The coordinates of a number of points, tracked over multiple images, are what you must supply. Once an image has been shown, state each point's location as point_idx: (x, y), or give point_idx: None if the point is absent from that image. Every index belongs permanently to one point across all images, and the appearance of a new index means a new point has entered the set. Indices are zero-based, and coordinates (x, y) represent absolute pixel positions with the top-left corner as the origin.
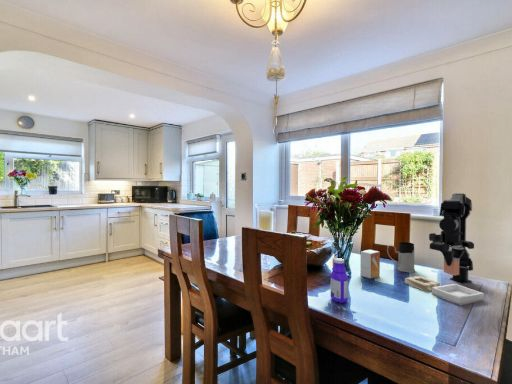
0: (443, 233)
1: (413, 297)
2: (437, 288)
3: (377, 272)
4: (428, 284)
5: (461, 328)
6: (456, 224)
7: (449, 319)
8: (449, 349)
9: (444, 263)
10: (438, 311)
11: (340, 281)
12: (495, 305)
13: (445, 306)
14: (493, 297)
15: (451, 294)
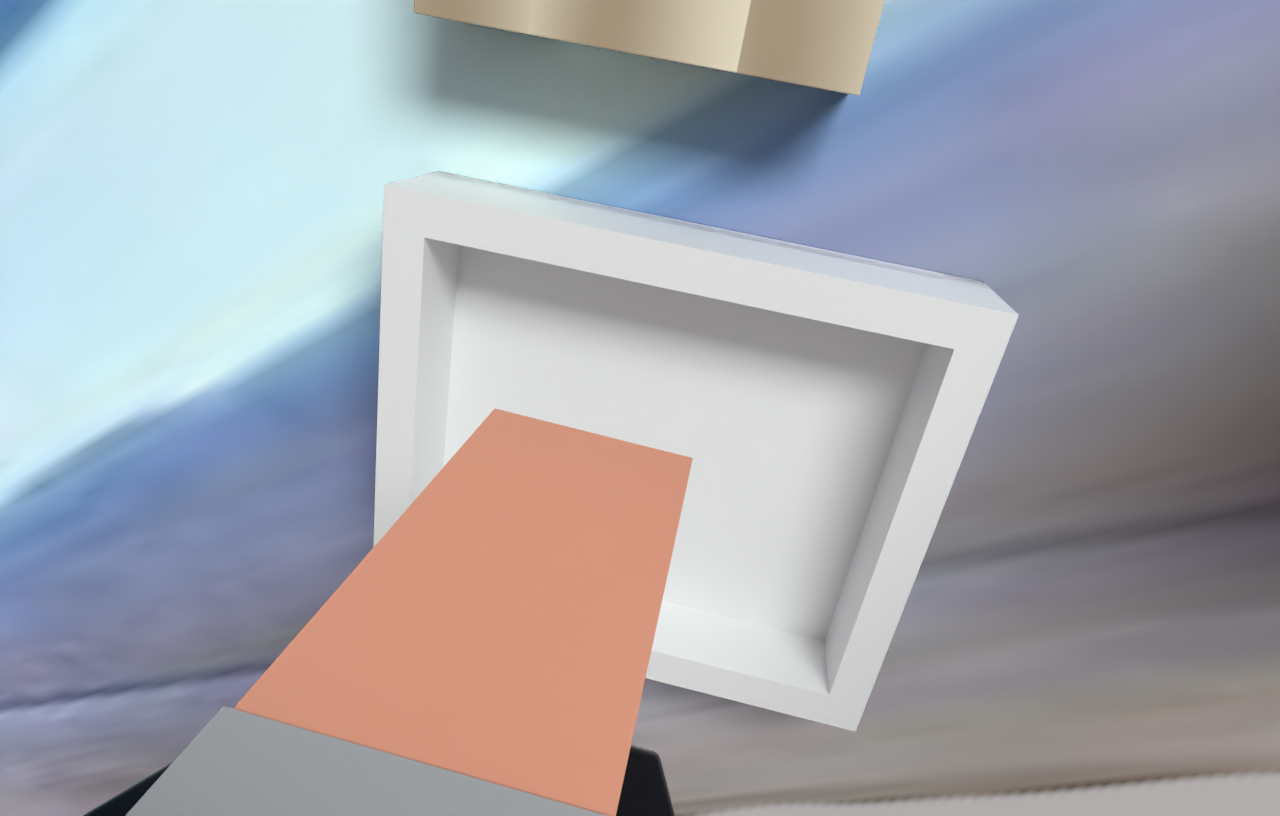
0: None
1: (73, 95)
2: (473, 243)
3: None
4: (542, 3)
5: (8, 703)
6: None
7: (36, 606)
8: None
9: (367, 576)
10: (66, 486)
11: None
12: (786, 755)
13: (241, 474)
14: (1095, 693)
15: (386, 506)
